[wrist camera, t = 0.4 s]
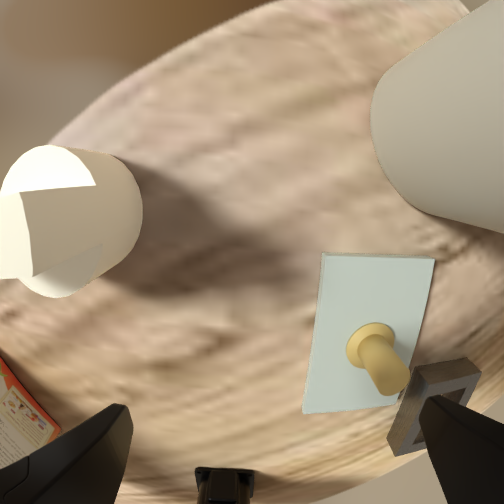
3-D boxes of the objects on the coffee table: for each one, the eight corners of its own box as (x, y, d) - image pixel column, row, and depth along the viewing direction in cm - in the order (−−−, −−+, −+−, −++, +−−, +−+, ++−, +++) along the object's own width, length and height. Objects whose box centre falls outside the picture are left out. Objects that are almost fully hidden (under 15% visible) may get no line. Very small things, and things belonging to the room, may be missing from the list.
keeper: (391, 397, 24) (415, 438, 18) (301, 406, 24) (312, 456, 18) (428, 255, 21) (474, 278, 15) (322, 252, 20) (349, 279, 15)
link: (435, 426, 25) (445, 442, 22) (386, 438, 25) (394, 456, 22) (466, 357, 23) (481, 372, 20) (414, 367, 23) (429, 384, 20)
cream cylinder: (137, 140, 19) (23, 107, 7) (151, 266, 21) (60, 353, 9) (41, 164, 19) (-75, 168, 7) (56, 272, 21) (-46, 334, 9)
